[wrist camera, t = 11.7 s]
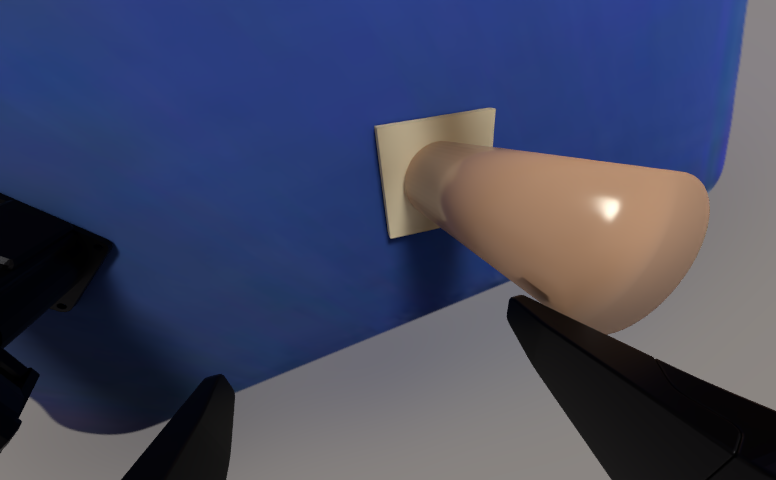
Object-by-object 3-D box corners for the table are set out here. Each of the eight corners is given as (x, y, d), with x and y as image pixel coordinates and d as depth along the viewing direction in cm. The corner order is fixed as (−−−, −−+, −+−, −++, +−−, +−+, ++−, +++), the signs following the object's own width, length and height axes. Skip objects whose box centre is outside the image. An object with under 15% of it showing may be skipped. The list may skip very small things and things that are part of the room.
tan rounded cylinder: (439, 229, 21) (606, 357, 10) (389, 186, 19) (531, 288, 7) (486, 174, 21) (724, 241, 9) (440, 123, 18) (683, 126, 7)
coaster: (388, 234, 22) (390, 238, 22) (374, 126, 18) (376, 128, 17) (481, 213, 23) (487, 217, 23) (489, 107, 19) (495, 108, 19)
